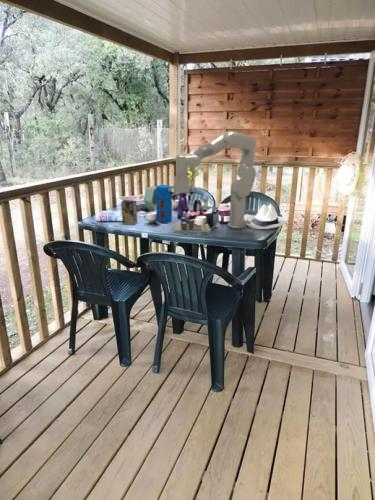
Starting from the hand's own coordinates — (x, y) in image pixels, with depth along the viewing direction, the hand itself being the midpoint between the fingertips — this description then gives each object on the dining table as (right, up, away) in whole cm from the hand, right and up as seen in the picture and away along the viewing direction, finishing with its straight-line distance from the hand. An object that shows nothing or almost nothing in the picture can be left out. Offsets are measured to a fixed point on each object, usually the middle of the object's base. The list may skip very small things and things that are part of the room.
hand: (181, 201), depth 230 cm
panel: (+6, -18, +7) cm, 20 cm away
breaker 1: (+1, -14, +11) cm, 18 cm away
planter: (-23, +2, +59) cm, 63 cm away
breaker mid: (+6, -16, +6) cm, 18 cm away
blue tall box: (-13, -11, +24) cm, 30 cm away
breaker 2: (+2, -18, 0) cm, 18 cm away
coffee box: (-36, -13, +17) cm, 43 cm away
